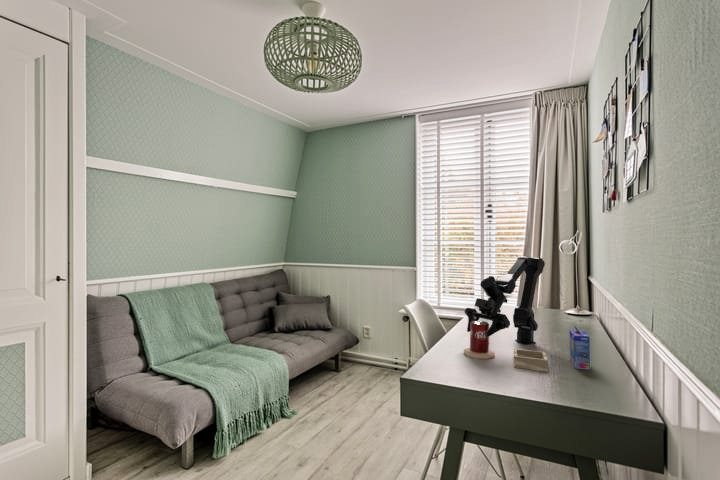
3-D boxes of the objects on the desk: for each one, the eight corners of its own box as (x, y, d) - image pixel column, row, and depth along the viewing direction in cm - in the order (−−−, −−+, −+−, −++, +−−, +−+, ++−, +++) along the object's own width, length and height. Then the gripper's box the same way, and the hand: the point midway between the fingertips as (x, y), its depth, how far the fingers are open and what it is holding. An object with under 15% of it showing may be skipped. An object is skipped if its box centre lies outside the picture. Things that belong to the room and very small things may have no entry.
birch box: (513, 358, 152) (513, 348, 152) (544, 362, 148) (544, 351, 148) (514, 367, 141) (514, 356, 141) (547, 371, 137) (547, 360, 137)
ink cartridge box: (568, 360, 151) (569, 323, 151) (584, 362, 149) (585, 324, 149) (573, 368, 141) (574, 328, 141) (590, 370, 139) (591, 330, 139)
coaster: (482, 349, 164) (482, 347, 164) (501, 357, 153) (501, 355, 153) (457, 351, 160) (457, 349, 160) (474, 360, 149) (474, 357, 149)
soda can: (492, 353, 155) (493, 323, 155) (480, 355, 152) (480, 325, 151) (478, 348, 162) (478, 319, 162) (466, 351, 158) (466, 321, 158)
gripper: (467, 288, 166) (449, 317, 160) (506, 294, 151) (488, 325, 145) (478, 305, 171) (461, 333, 164) (517, 312, 156) (500, 343, 149)
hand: (477, 333), depth 156 cm, fingers open, 9 cm apart
